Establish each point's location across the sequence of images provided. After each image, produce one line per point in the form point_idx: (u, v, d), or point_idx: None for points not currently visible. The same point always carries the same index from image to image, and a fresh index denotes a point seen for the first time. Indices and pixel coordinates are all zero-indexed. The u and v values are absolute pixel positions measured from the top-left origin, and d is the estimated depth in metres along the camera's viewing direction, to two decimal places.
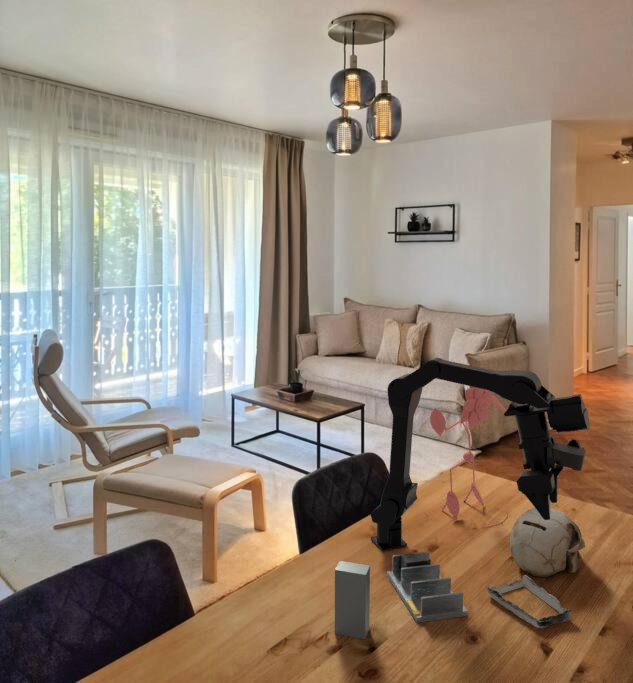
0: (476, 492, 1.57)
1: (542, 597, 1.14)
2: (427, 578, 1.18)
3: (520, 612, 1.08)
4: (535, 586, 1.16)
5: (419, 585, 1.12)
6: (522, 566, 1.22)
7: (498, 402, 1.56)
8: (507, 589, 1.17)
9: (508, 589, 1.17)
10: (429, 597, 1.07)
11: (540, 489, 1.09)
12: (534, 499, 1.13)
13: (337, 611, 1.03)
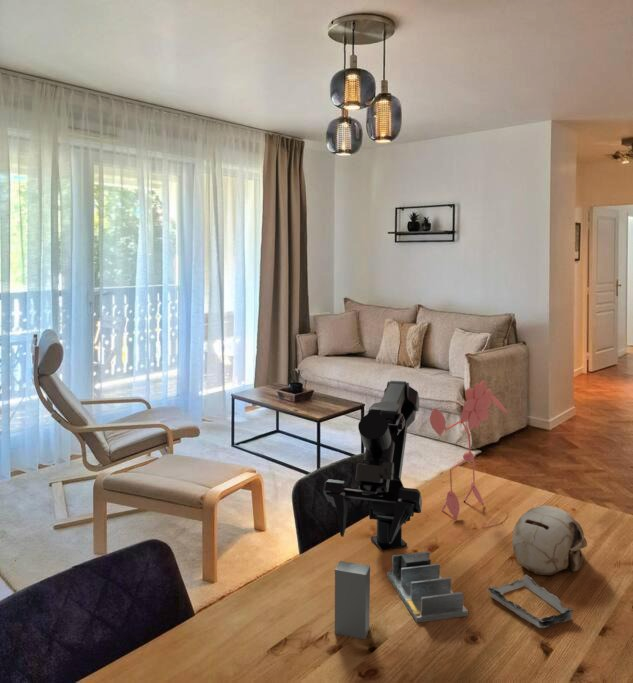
0: (476, 492, 1.57)
1: (543, 596, 1.14)
2: (427, 578, 1.18)
3: (522, 612, 1.08)
4: (536, 585, 1.16)
5: (419, 585, 1.12)
6: (525, 565, 1.23)
7: (498, 402, 1.56)
8: (508, 589, 1.17)
9: (509, 589, 1.17)
10: (429, 597, 1.07)
11: None
12: None
13: (337, 611, 1.03)
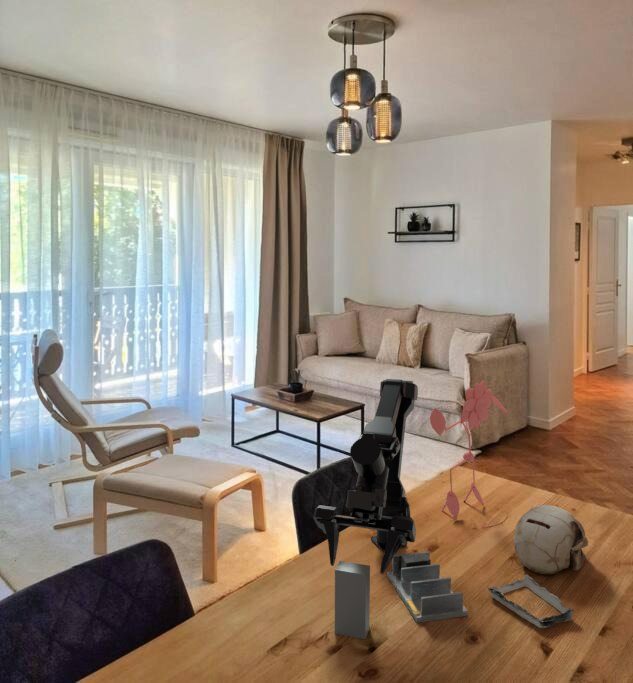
0: (476, 492, 1.57)
1: (543, 596, 1.14)
2: (427, 578, 1.18)
3: (522, 612, 1.08)
4: (537, 585, 1.16)
5: (419, 585, 1.12)
6: (526, 564, 1.23)
7: (498, 402, 1.56)
8: (509, 589, 1.17)
9: (510, 589, 1.17)
10: (429, 597, 1.07)
11: None
12: None
13: (337, 611, 1.03)
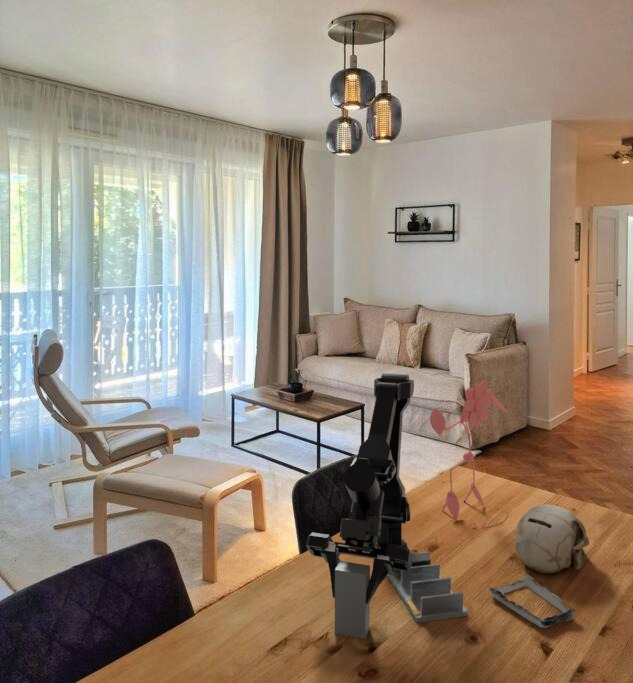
0: (476, 492, 1.57)
1: (544, 596, 1.14)
2: (427, 578, 1.18)
3: (524, 612, 1.08)
4: (537, 585, 1.16)
5: (419, 585, 1.12)
6: (528, 563, 1.23)
7: (498, 402, 1.56)
8: (509, 589, 1.17)
9: (510, 589, 1.17)
10: (429, 597, 1.07)
11: None
12: None
13: (337, 611, 1.03)
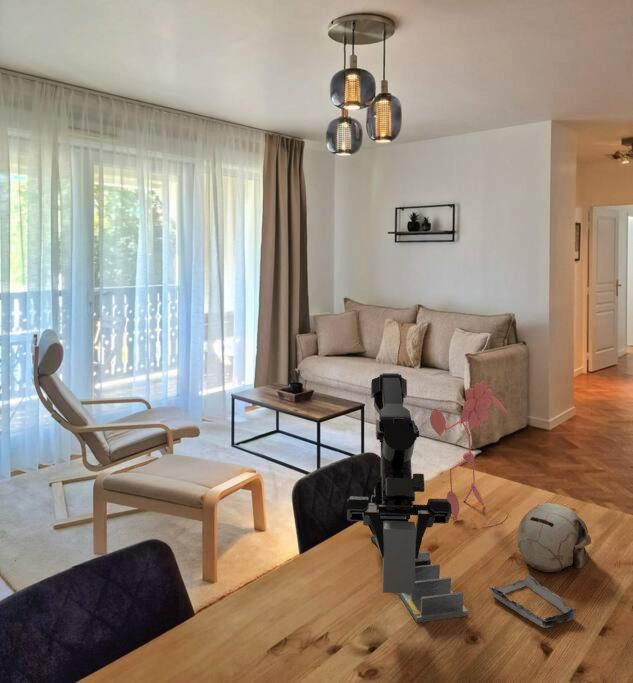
0: (476, 492, 1.57)
1: (545, 596, 1.14)
2: (427, 578, 1.18)
3: (525, 612, 1.08)
4: (538, 585, 1.16)
5: (419, 585, 1.12)
6: (530, 562, 1.24)
7: (498, 402, 1.56)
8: (510, 589, 1.17)
9: (511, 589, 1.17)
10: (429, 597, 1.07)
11: (347, 511, 1.08)
12: (373, 532, 1.08)
13: (386, 570, 1.04)
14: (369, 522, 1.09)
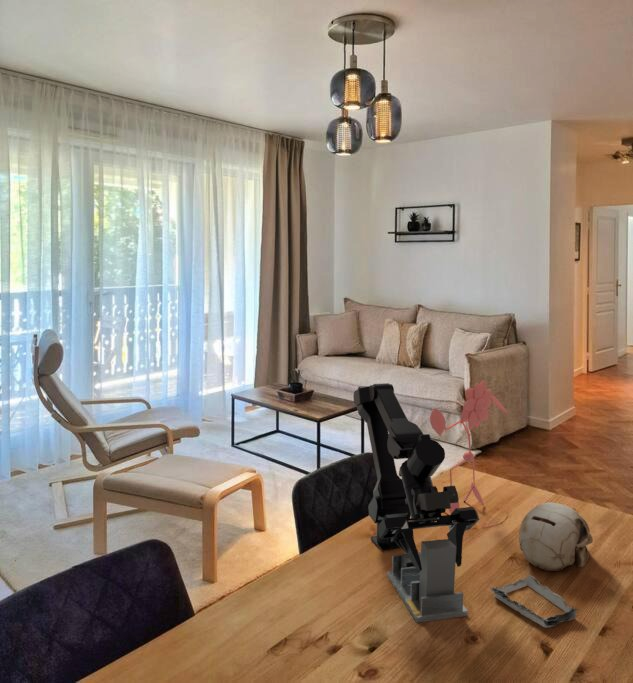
0: (476, 492, 1.57)
1: (546, 596, 1.14)
2: None
3: (526, 612, 1.08)
4: (539, 585, 1.16)
5: (419, 585, 1.12)
6: (532, 561, 1.24)
7: (498, 402, 1.56)
8: (511, 589, 1.17)
9: (512, 589, 1.17)
10: (429, 597, 1.07)
11: (384, 530, 1.10)
12: (405, 548, 1.11)
13: (428, 589, 1.08)
14: (398, 538, 1.12)
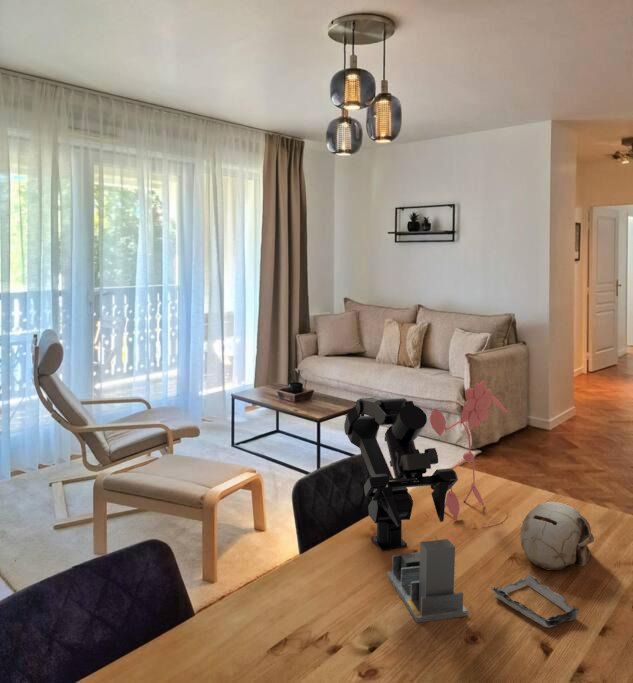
0: (476, 492, 1.57)
1: (547, 595, 1.15)
2: None
3: (528, 612, 1.08)
4: (540, 585, 1.16)
5: None
6: (533, 560, 1.25)
7: (498, 402, 1.56)
8: (512, 589, 1.17)
9: (513, 589, 1.17)
10: (429, 597, 1.07)
11: (369, 489, 1.19)
12: (384, 505, 1.20)
13: (428, 589, 1.08)
14: (379, 497, 1.20)
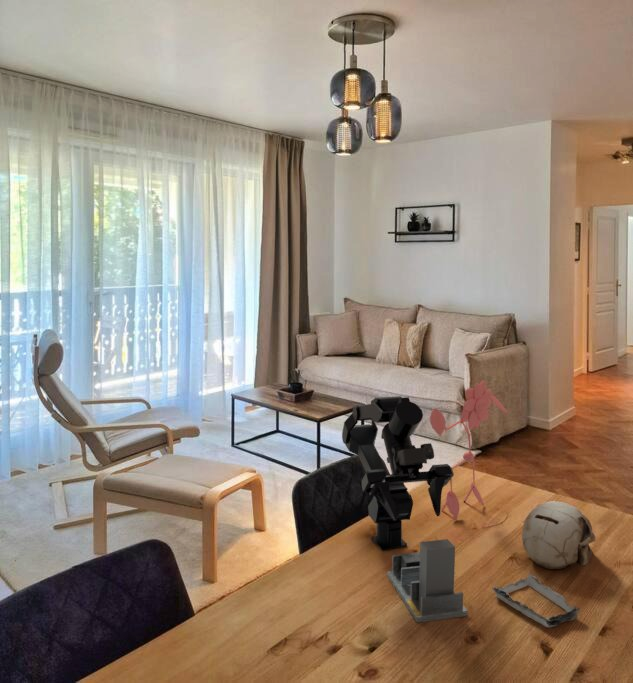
0: (476, 492, 1.57)
1: (548, 595, 1.15)
2: None
3: (529, 612, 1.08)
4: (540, 584, 1.16)
5: None
6: (535, 559, 1.25)
7: (498, 402, 1.56)
8: (513, 589, 1.17)
9: (514, 589, 1.17)
10: (429, 597, 1.07)
11: (366, 484, 1.21)
12: (382, 500, 1.21)
13: (428, 589, 1.08)
14: (376, 492, 1.22)
